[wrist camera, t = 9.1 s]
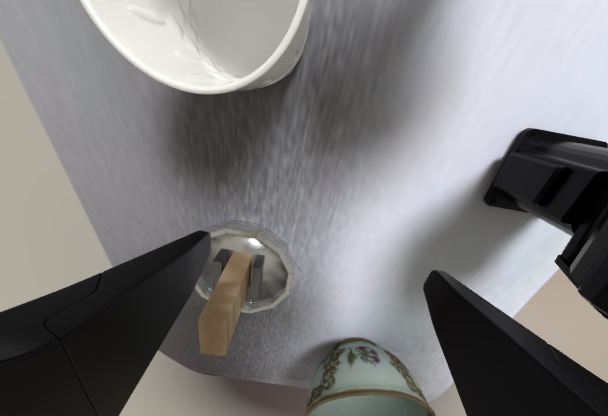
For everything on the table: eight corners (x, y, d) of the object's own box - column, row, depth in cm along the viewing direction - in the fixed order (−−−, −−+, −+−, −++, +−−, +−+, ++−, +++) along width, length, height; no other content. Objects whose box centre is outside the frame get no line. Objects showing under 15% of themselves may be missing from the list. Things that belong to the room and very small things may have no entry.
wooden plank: (252, 254, 24) (225, 323, 17) (250, 282, 26) (225, 356, 18) (233, 251, 24) (197, 319, 17) (233, 280, 25) (200, 352, 18)
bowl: (311, 380, 35) (310, 455, 27) (300, 320, 29) (294, 395, 22) (405, 379, 33) (429, 457, 26) (412, 315, 27) (447, 394, 20)
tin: (300, 231, 23) (299, 246, 21) (286, 307, 28) (283, 325, 25) (190, 212, 22) (176, 226, 20) (195, 292, 27) (184, 310, 25)
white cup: (243, 113, 18) (172, 132, 9) (176, 0, 15) (-22, -135, 6) (334, 58, 16) (356, 14, 7) (278, -84, 13) (201, -451, 4)
